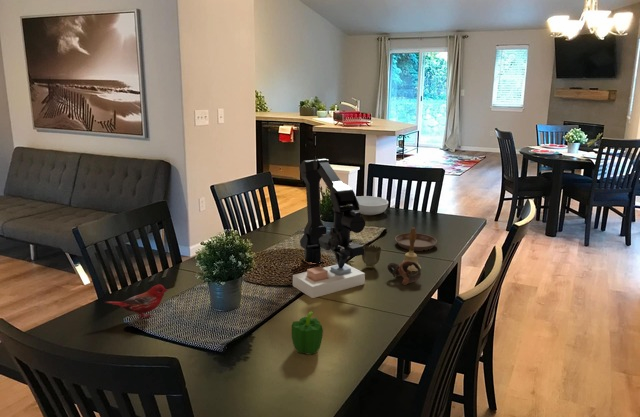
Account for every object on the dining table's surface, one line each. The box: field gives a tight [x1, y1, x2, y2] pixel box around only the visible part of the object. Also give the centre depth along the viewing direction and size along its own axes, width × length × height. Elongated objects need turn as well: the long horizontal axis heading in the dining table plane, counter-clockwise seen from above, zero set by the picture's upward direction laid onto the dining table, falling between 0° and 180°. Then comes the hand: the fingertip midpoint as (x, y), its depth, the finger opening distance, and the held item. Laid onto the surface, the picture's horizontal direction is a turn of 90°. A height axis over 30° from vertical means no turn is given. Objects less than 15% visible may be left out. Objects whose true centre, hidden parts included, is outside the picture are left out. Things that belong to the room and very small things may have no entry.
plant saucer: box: [394, 232, 438, 252], centre depth 220 cm, size 18×18×3 cm
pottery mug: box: [387, 261, 422, 286], centre depth 181 cm, size 12×10×8 cm
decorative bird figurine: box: [104, 283, 169, 318], centre depth 149 cm, size 3×18×10 cm, turn 107°
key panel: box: [292, 263, 366, 299], centre depth 176 cm, size 12×22×4 cm, turn 125°
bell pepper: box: [291, 311, 324, 355], centre depth 133 cm, size 8×8×10 cm
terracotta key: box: [306, 266, 328, 282], centre depth 173 cm, size 5×5×3 cm
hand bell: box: [402, 227, 422, 272], centre depth 192 cm, size 8×8×16 cm
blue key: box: [331, 264, 351, 276], centre depth 178 cm, size 5×5×3 cm
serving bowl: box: [349, 195, 389, 216], centre depth 270 cm, size 21×21×7 cm
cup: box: [361, 244, 382, 270], centre depth 192 cm, size 8×7×8 cm
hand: (340, 267), depth 178 cm, fingers closed, pressing on blue key
